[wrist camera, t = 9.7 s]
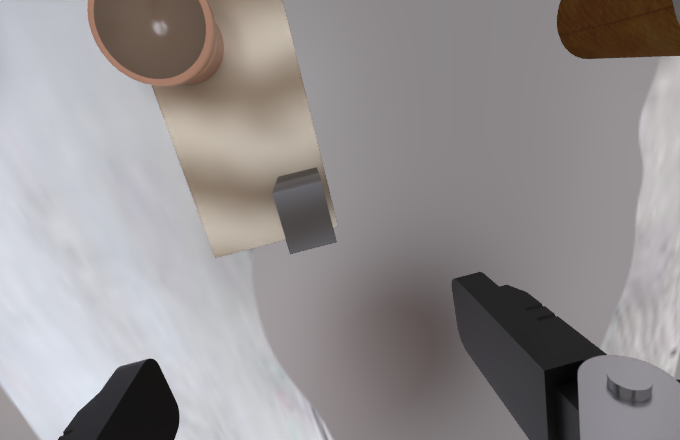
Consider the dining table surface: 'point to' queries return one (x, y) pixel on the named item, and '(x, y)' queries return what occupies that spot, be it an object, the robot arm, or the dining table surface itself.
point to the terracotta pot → (158, 39)
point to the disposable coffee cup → (620, 28)
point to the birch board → (251, 138)
